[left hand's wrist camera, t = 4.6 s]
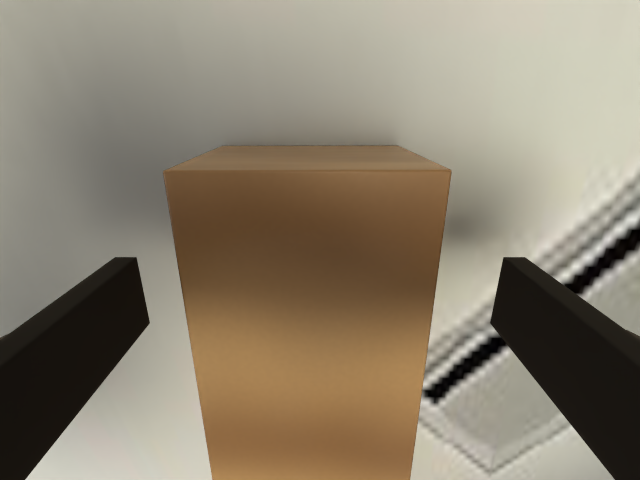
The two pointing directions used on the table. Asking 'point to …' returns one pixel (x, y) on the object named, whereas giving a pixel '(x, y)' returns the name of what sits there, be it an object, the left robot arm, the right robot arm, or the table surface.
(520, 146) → the table surface
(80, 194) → the table surface
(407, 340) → the wide beam
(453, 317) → the table surface
